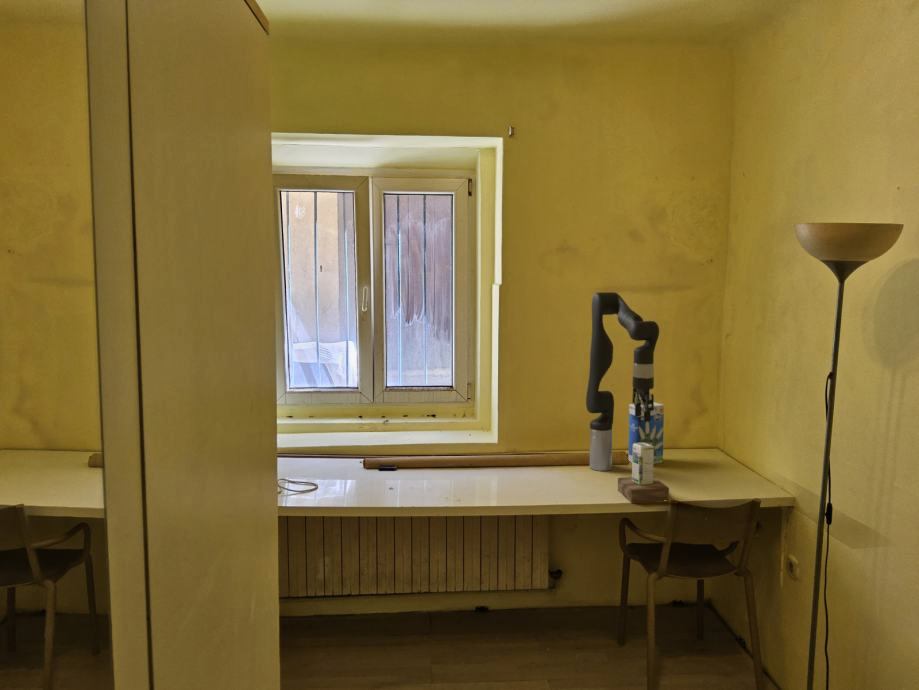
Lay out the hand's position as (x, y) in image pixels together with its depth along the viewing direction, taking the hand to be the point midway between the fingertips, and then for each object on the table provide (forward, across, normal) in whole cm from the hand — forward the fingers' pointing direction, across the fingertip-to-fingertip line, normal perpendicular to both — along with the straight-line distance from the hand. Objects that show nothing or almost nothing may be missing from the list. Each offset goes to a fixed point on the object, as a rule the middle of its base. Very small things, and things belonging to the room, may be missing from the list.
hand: (642, 418), depth 239 cm
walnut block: (+29, +1, 0) cm, 29 cm away
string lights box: (+30, -40, +18) cm, 53 cm away
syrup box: (+24, +1, 0) cm, 24 cm away
